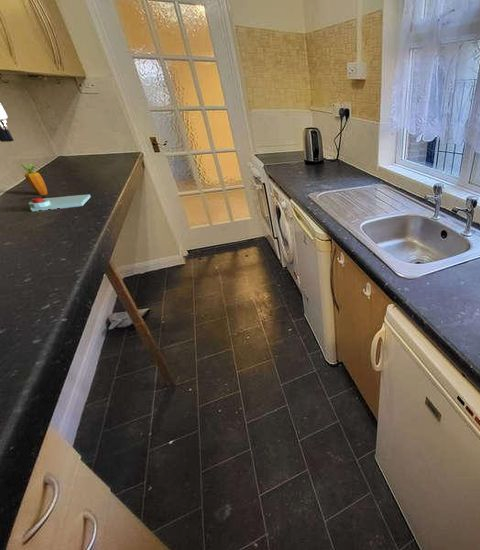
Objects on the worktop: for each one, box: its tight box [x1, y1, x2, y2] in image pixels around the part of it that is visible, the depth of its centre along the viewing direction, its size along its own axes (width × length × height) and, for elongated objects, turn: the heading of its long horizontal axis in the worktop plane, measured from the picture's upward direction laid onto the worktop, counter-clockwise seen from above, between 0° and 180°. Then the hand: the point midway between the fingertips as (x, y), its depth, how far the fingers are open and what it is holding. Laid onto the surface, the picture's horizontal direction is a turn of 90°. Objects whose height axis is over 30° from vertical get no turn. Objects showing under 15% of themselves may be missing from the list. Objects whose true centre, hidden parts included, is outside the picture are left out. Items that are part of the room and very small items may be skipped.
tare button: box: [31, 197, 44, 203], centre depth 119 cm, size 3×3×2 cm
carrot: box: [21, 163, 48, 199], centre depth 128 cm, size 5×5×15 cm
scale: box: [27, 194, 92, 212], centre depth 125 cm, size 16×14×3 cm
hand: (7, 141), depth 112 cm, fingers closed
